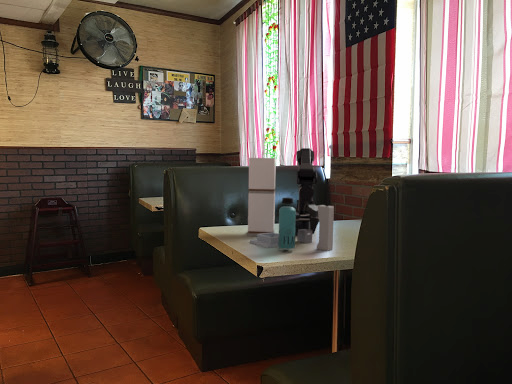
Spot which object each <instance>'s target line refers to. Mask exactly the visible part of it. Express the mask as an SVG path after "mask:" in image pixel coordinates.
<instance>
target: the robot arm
mask: <svg viewBox="0 0 512 384" xmlns="http://www.w3.org/2000/svg"><path fill="white" fill-rule="evenodd" d="M295 153H296V154H295V155H296V162H297V167H298V170H296V185H299V186H298V199H297V200H296V203H297V204H296V207H294V208H295V210H296V215H295V216H296V220H295V221H296V222H295V224H296V226H295V227H296V228H295V230H296V233H295V237H297V236H298V230H299V229H307V230H312V235H314V234H315V232H316V229H317V226H318V225H319V219H318V206H320V205H321V204H319V205H316V201H315V200H313V197H314V194H315V191H314V187H313V185H317V183H318V174H317V171H316V170H315V167H314V165H313V162H314V161H315V151H313V150H312V148H310V147H309V148H307V147H304V148H303V147H302V148H300V149H298V150H297V151H296V152H295Z"/></svg>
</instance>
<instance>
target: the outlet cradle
mask: <svg viewBox="0 0 512 384" xmlns="http://www.w3.org/2000/svg"><path fill="white" fill-rule="evenodd" d="M278 233H279V232H275V231H274V232H272V233H262V234H257V236H256V239H249V243H250V244H252V245H256V246H258V247H259V246H260V247H262V246H263V248H266V249H268V248H269V249H271V248H277V247H278V248H279V246H278V240H279V234H278Z"/></svg>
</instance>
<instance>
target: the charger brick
mask: <svg viewBox="0 0 512 384" xmlns="http://www.w3.org/2000/svg"><path fill="white" fill-rule="evenodd" d="M296 242H297V243H298V242H299V243H301V244H302V243H303V244H310V243H313V234H312V230H307V229H299V230H298V236H296Z"/></svg>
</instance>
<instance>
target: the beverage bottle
mask: <svg viewBox="0 0 512 384" xmlns="http://www.w3.org/2000/svg"><path fill="white" fill-rule="evenodd" d="M281 204H282V205H283V204H285V205H286V206H281V207H280V208H279V209H278V214H279V215H278V232H277V233H278V234H279V240H278V248H279V249H284V250H292V249H294V248H295V246H296V236H295V233H296V230H295V228H296V227H295V226H296V224H295V222H296V221H295V220H296V216H295V215H296V210H295V208H296V207H293V206H289V205H293V204H294V198H293V197H282V198H281ZM287 205H288V206H287Z"/></svg>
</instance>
